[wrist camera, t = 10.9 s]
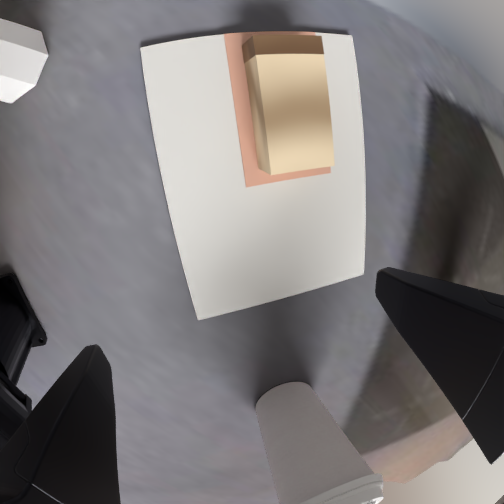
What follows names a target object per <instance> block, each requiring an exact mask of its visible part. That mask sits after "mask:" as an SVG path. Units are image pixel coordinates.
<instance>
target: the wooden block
mask: <svg viewBox="0 0 504 504" xmlns="http://www.w3.org/2000/svg"><path fill="white" fill-rule="evenodd" d="M242 52H243V59H244V63H245V70H246V77H247V84H248V91H249V99H250V106H251V114H252V121H253V129H254V137H255V145H256V153H257V160H258V168H259V169H260V170H262V171H264V172H266V173H268V174H270V175H276V174H282V173H288V172H295V171H302V170H308V169H315V168H322V167H330V166H335V163H334V148H333V134H332V122H331V112H330V102H329V92H328V84H327V75H326V68H325V60H324V49H323V42H322V36H316V35H281V34H279V35H252V36H251V37H250V38H249V39H248V40H247V41H246V42H245V43H244V44H243V45H242Z"/></svg>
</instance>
